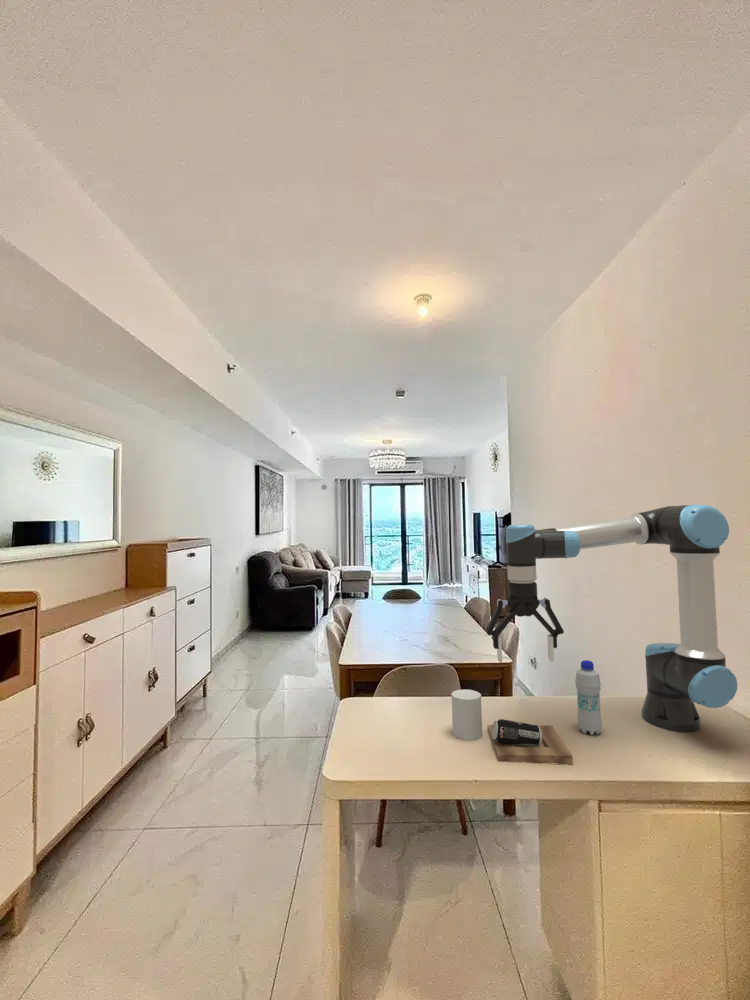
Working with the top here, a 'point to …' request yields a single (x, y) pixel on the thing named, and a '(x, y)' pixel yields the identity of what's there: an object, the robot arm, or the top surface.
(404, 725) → the top surface
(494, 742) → the socket block
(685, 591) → the robot arm
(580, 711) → the bottle
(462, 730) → the cup
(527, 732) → the beverage can
